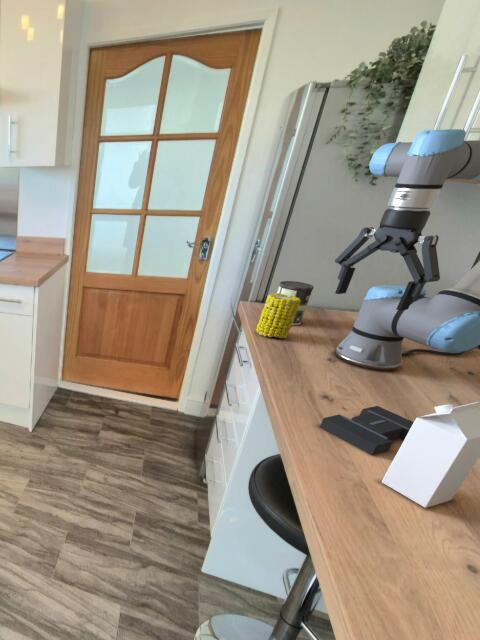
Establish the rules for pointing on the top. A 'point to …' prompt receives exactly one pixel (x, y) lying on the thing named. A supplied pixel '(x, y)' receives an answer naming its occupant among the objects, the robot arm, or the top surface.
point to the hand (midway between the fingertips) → (369, 301)
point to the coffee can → (297, 291)
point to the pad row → (365, 430)
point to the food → (278, 315)
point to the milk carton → (437, 455)
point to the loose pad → (379, 425)
